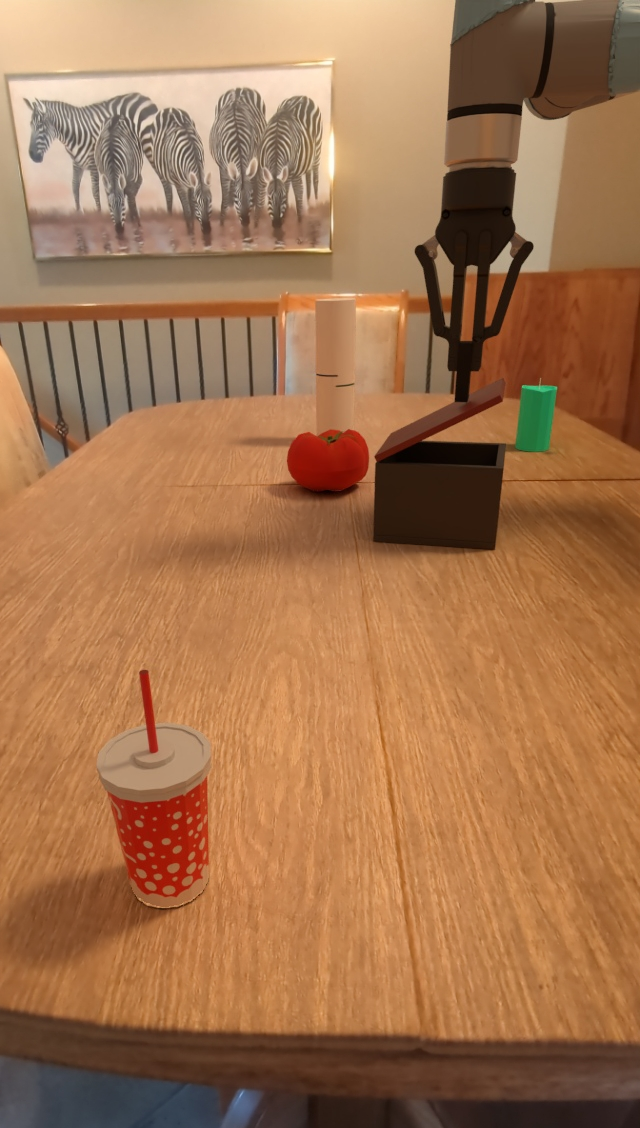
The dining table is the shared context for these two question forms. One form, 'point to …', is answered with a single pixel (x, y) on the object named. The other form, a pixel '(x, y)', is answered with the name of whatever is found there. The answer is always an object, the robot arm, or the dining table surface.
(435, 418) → the box lid
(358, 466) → the tomato
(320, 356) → the cylindrical container
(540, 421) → the candle
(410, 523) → the open box
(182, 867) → the beverage cup
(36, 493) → the dining table surface
